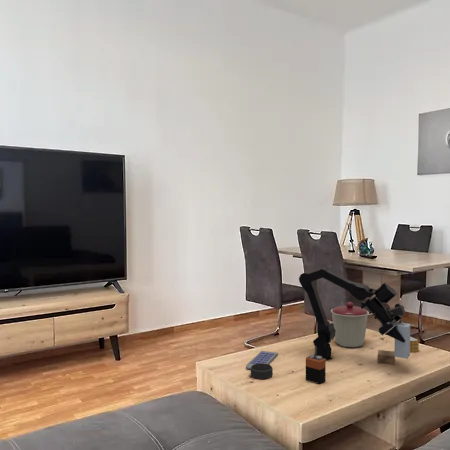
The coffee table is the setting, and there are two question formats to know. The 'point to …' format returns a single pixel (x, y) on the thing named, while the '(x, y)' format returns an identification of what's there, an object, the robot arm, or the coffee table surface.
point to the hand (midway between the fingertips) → (405, 340)
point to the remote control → (262, 358)
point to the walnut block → (386, 357)
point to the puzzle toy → (414, 345)
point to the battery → (315, 369)
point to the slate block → (400, 347)
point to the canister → (349, 325)
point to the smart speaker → (261, 371)
